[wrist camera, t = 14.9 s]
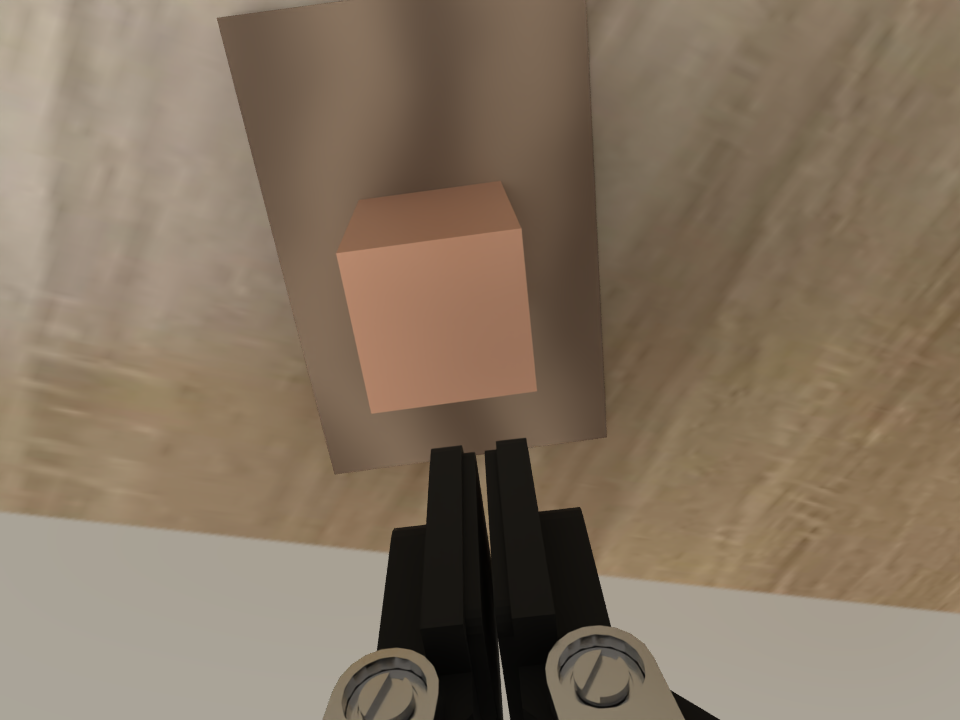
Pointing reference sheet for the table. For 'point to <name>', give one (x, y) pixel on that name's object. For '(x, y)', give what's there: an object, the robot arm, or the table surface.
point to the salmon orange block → (438, 297)
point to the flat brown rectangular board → (423, 167)
